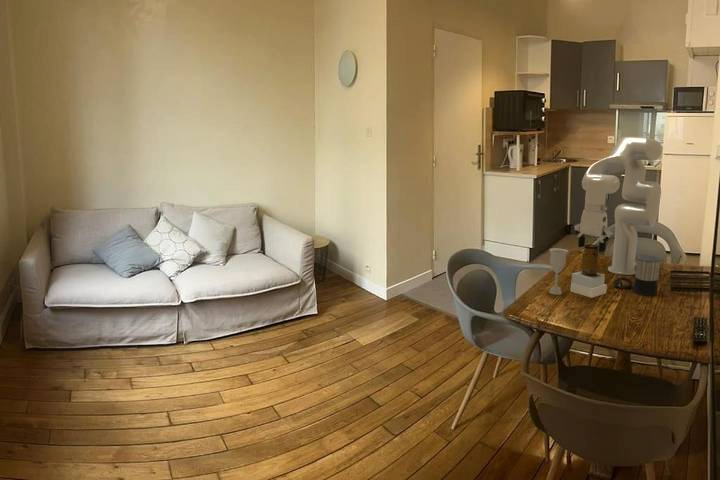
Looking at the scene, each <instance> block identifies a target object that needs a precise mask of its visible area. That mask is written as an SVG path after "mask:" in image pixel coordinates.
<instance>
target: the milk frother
mask: <svg viewBox="0 0 720 480" xmlns="http://www.w3.org/2000/svg"><path fill="white" fill-rule="evenodd" d="M636 261H637V266H635V267H636V268H635V269H636V274H635V275H634V276H635V277H634V281H633V280H632V279H631V278H628V277H626V276H622V277H621V276H620V277H618V278H615V279H614V280H613V285H614V287H617V288H618V289H624V290H625V289H626V290H627V289H630V288H632V286H633V288H632V291H633V293H635V294H638V295H641V296H656V295H657V294H658V285H659V284H658V283H659V274H660V266H661V261H662V258H661V257H658V256H655V255H648V254H642V255H637V256H636ZM623 281H626V282H628V283H629V284H628V285H623Z"/></svg>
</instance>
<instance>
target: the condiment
mask: <svg viewBox="0 0 720 480" xmlns="http://www.w3.org/2000/svg"><path fill="white" fill-rule="evenodd" d="M583 247H584V248H583V251H582V256H581V257H582V258H581V259H582V260H581V261H582V262H581V271H582V272H580V271H579V272H580V273H577V274H581V275H586V276H590V277H595V278H596V277H600V276H603V275H605V276H606V274H604V273H601V272H600V273H599V272H598V267H599V266H598V265H599V253H600V252H599V245H596V244H585V246H583Z"/></svg>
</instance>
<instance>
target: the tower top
mask: <svg viewBox="0 0 720 480" xmlns="http://www.w3.org/2000/svg"><path fill="white" fill-rule="evenodd" d="M580 272H582V271H577V272H573V273H572V275H571V283H574V284H577V285H581V286H584V287H588V288H593V287H597V286H601V285H604V284H605V280H606V279H605V278H606V277H605V276H606V274H605V275H603V276H600V277H596V278H595V277H590V276H586V275H581V274H577V273H580Z"/></svg>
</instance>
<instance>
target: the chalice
mask: <svg viewBox="0 0 720 480" xmlns="http://www.w3.org/2000/svg"><path fill="white" fill-rule="evenodd" d="M549 252H550V254H549V255H550V256H549V263H550V266H551V269H552V271H553V272H554V273H555V275H554V281H553V282H554V285H553V286H551V287H550V289H549V291H548V293H549V294H551V295H555V296H556V295H562V294H563V292H562V288H561V287H560V286H558V283H559V282H560V281H559V278H560V277H559V273H562V271H563V269H564V268H565V266H566V263H567V254H568V253H569V250H568V249H564V248H558V247H557V248H555V247H554V248H553V247H552V248H549Z"/></svg>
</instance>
